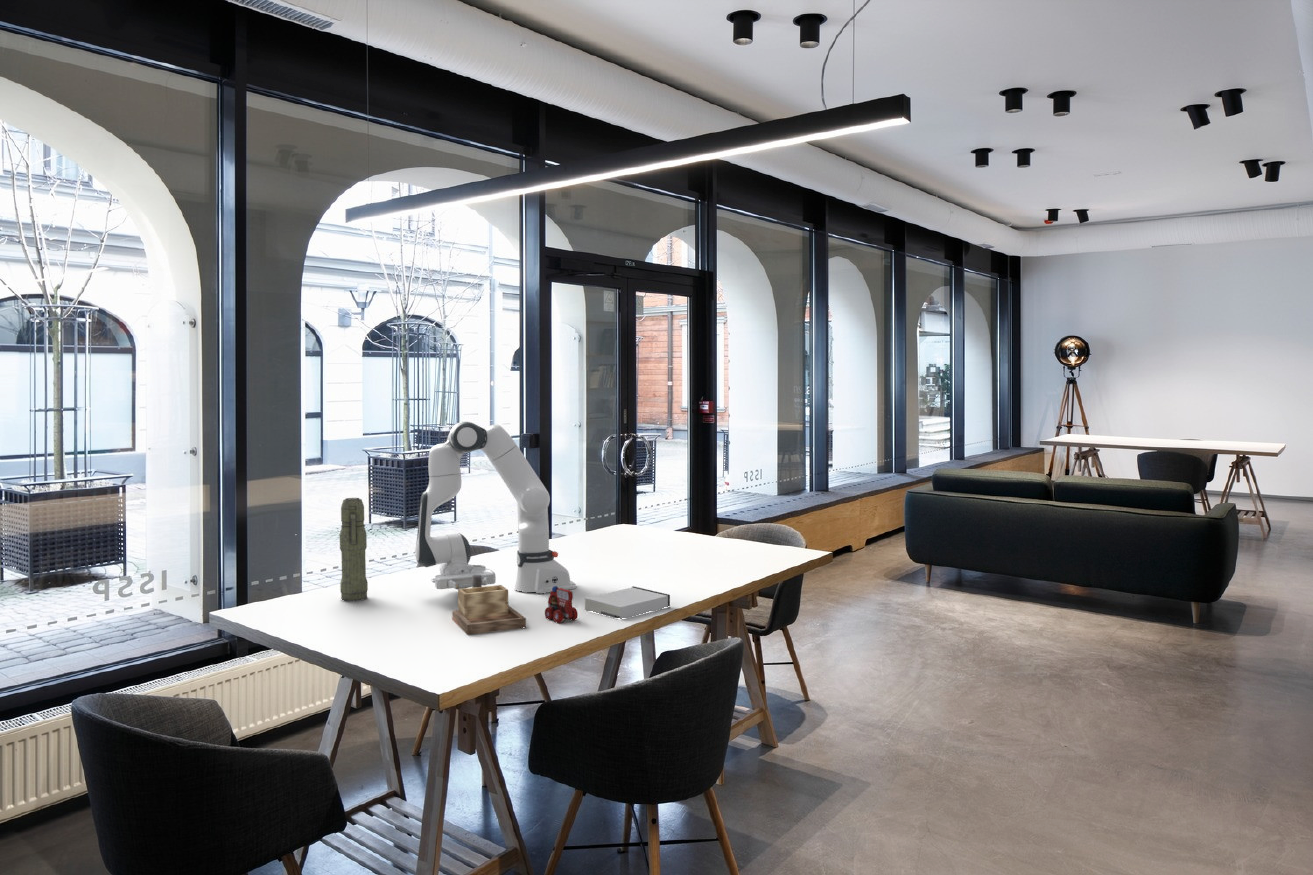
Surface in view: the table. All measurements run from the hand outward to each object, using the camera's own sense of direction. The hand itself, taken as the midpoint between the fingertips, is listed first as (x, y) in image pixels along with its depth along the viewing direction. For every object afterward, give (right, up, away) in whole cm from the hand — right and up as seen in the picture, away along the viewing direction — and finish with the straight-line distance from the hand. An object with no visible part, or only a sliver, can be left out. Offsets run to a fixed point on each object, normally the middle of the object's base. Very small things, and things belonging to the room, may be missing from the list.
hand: (470, 584), depth 299 cm
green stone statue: (-43, -7, +14) cm, 46 cm away
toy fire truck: (+31, -9, -14) cm, 36 cm away
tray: (+9, -9, -19) cm, 23 cm away
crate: (+6, -7, -12) cm, 15 cm away
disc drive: (+52, -9, -1) cm, 53 cm away
